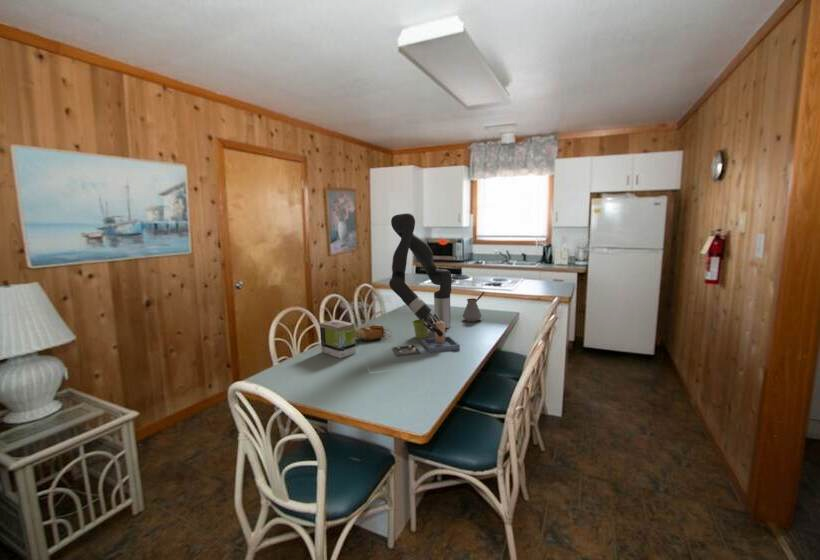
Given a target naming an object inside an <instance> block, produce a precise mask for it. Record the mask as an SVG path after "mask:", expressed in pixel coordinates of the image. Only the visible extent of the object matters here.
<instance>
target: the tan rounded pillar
mask: <svg viewBox="0 0 820 560" xmlns="http://www.w3.org/2000/svg"><path fill="white" fill-rule="evenodd" d="M435 323H436V326H437V327H438V329H439V330H440V331H441V332H442V333H443V335H442V336H441V337H439V335H438V334H437V333H436V332H434V338H435V344H440V345H441V344H445V337H446V332H445V329H446V328H445V322H442V321H439V322H435Z"/></svg>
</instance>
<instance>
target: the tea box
mask: <svg viewBox="0 0 820 560" xmlns="http://www.w3.org/2000/svg"><path fill="white" fill-rule="evenodd" d="M355 330H356V328H355V323H353V322H348V321H345V320H340V319H333V320H328V321H324V322H321V323H319V332H320V344H321V345H320V346H321V353H324V354H326V355H329V356H332V357H334V358H339V359H344V358H346V357H348V356H351V355H354V354H356V353H357V345H356V337H355Z"/></svg>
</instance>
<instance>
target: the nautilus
mask: <svg viewBox="0 0 820 560" xmlns="http://www.w3.org/2000/svg"><path fill="white" fill-rule="evenodd" d="M388 332H389V333H388ZM390 333H392V331H390V330H389V329H386V328H385V327H384V326H383V325H381V324H377V323H368V324H367V323H366V324H364V325H361V326H359V327H357V328H355V339H356V338H357V339H360V340H363V341H371V340H373V341H374V340H377V339H382V340H386V341H388V340H390V339H392V335H391V334H390Z"/></svg>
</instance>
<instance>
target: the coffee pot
mask: <svg viewBox="0 0 820 560" xmlns="http://www.w3.org/2000/svg"><path fill="white" fill-rule="evenodd" d="M486 294H487V293H486V292H485V291H483V292H482V293H481V294H480V295H478V297H477V298H475V297H473V298H466V301H467V304H466V305H465V309H464V311H463V313H462V318H463V319H464V320H465V321H466V322H470V323H472V322H473V323H475V322H478V321H479V320H481V318H482V316H483V315H482V312H481V311H480V308H479V306H478V304H477V302H479V300H480V299H481V298H482V296H485V295H486Z"/></svg>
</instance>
